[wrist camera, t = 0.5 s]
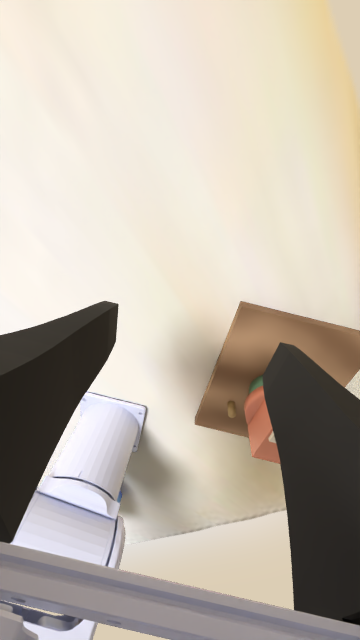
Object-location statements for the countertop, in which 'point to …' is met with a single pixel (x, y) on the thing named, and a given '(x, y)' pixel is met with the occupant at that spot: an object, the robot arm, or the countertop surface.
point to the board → (257, 351)
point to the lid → (260, 427)
